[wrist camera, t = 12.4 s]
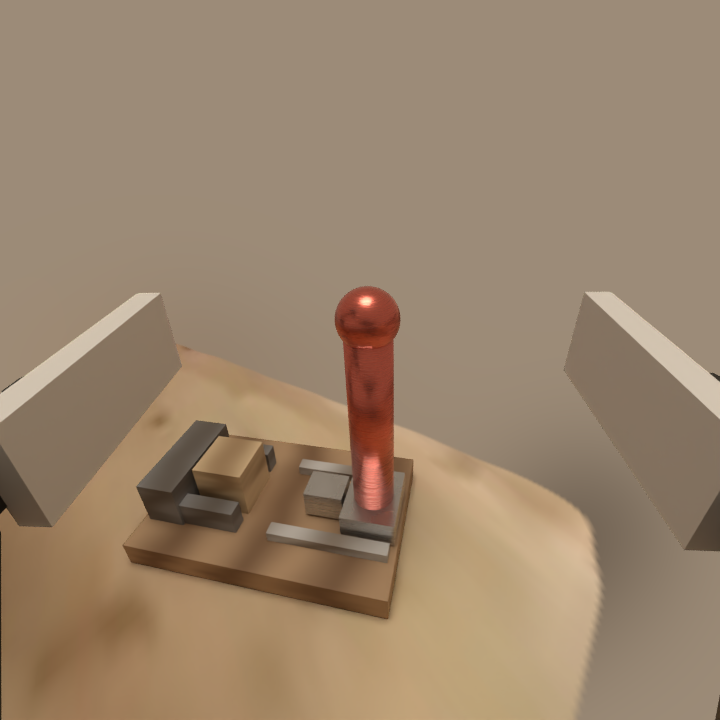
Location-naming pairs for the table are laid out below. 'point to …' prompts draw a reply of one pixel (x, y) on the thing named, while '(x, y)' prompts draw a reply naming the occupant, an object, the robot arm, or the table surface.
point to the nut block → (233, 471)
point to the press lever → (365, 423)
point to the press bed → (264, 528)
